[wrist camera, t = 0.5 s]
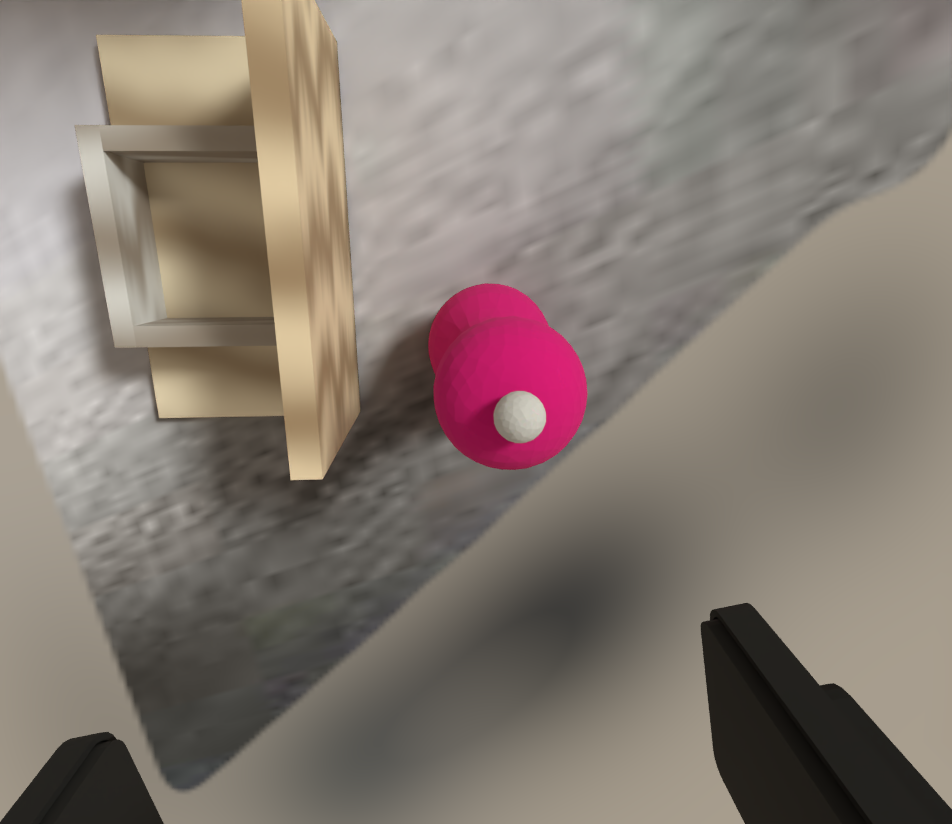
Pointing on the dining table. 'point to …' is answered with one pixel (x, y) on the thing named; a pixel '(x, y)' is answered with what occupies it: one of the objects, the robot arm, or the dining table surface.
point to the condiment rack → (231, 223)
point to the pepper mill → (504, 378)
